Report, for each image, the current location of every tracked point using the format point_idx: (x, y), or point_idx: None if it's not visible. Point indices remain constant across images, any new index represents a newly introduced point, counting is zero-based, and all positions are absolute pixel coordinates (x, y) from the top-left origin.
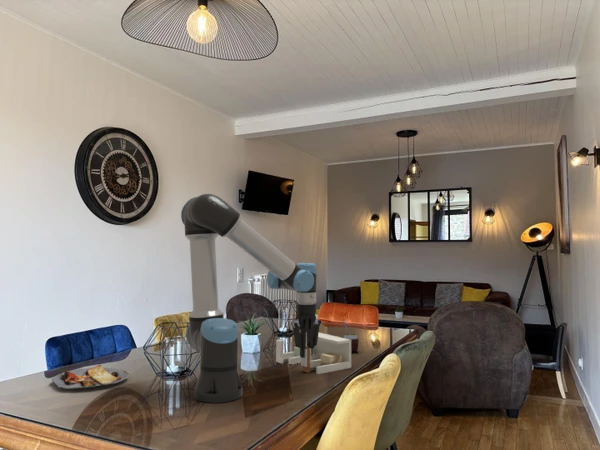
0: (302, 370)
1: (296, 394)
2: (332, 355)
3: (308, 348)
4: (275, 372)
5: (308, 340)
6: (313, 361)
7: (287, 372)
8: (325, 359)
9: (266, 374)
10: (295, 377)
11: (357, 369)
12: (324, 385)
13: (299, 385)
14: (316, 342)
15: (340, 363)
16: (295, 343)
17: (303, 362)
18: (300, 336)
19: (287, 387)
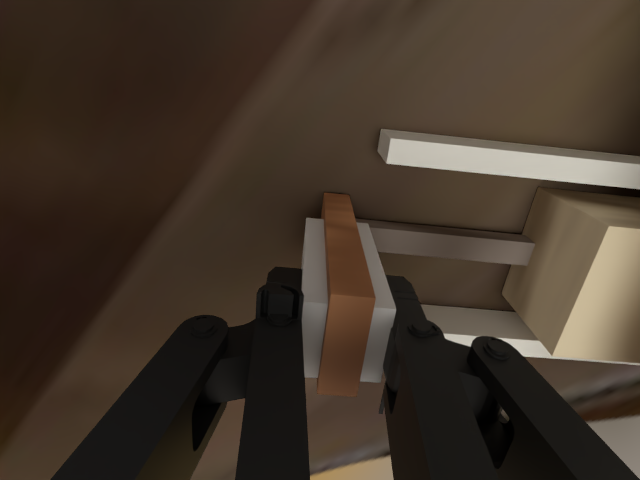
0: (323, 199)
1: (13, 475)
2: (617, 333)
3: (329, 392)
4: (118, 65)
5: (402, 423)
6: (506, 175)
7: (208, 137)
8: (556, 277)
9: (14, 66)
10: (177, 278)
11: (624, 380)
12: (218, 461)
13: (103, 399)
14: (493, 439)
15: (574, 358)
16: (157, 360)
17: (302, 260)
18: (239, 469)
19: (22, 388)
